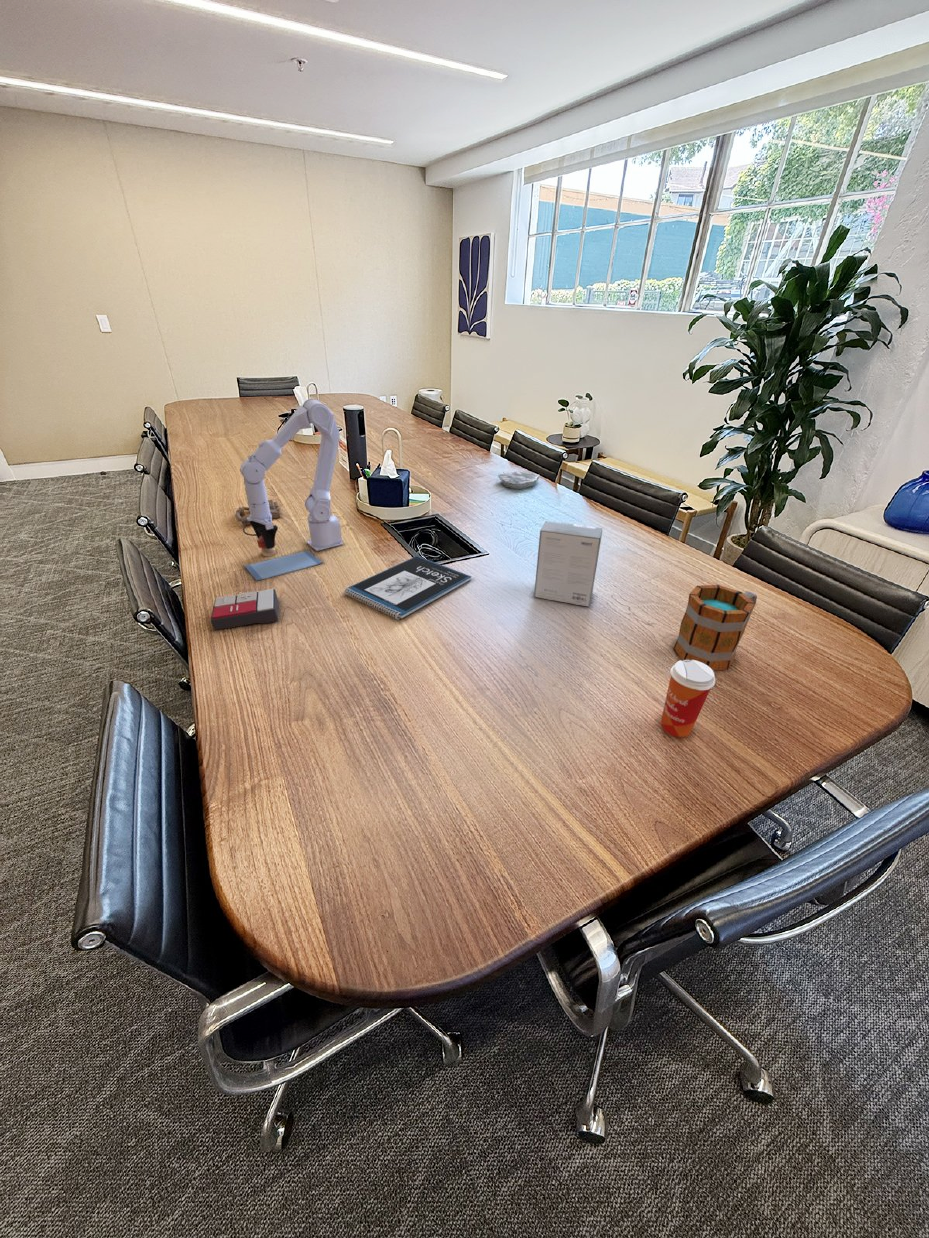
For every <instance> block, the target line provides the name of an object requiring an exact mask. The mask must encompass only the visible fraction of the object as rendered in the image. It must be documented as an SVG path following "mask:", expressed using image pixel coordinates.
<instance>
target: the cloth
mask: <svg viewBox="0 0 929 1238" xmlns="http://www.w3.org/2000/svg"><path fill="white" fill-rule="evenodd" d="M322 564H323V562H322V561H321V560H320V559H319V558H317V556H316V555H315V554H313V553H312V552H311V551H309V550H308V549H307V550H303V551H299V552H295V553H292V554H287V555H283V556H279V557H275V558H272V559H268V560H264V561H260V562H256V563H251V564H247V565H244V568H245V569H246V571H247V572H248V573H249V574H250V575H251V576H252V577H253V578H254V580H255V581H256V582H258V581H259V582H260V581H262V580H266V579H270V578H273V577H277V576H280V575H281V576H282V575H284V574H288V573H289V574H290V573H292V572H296V571H299V570H300V571H301V570H303V569H307V568H311V567H314V566H318V565H322Z"/></svg>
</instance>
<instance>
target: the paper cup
mask: <svg viewBox="0 0 929 1238" xmlns="http://www.w3.org/2000/svg"><path fill="white" fill-rule="evenodd" d="M669 673H670V678H669V681H668V682H669V683H668V687H667V690H666V691H667V692H666V697H665V700H664V706H663V709H662V710H663V711H662V714H661V720H660V726H661V729H662V730H663V731H664V732H665V733H667V734H668V735H670V736H672V737H676V738H686V737H688V736H689V735H690V734H691V732H692V731H693V729H694V727H695V725H696V722H697V720H698V718H699V716H700V713H701V712H702V709H703V706H704V705H705V703H706V700H707V698H708V695H709V693H710V692H711V689H712V688H713V687H714V686H715V684H716V678H715V671H714V670H712V669H711V668H710V667H709V666H707V665H706V664H704V663H702V662H699V661H696V660H691V661H690V660H683V661H682V659H680V660H678V661H676V662H675V663H674V665H672V666H671V668H670V670H669Z"/></svg>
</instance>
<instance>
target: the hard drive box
mask: <svg viewBox="0 0 929 1238" xmlns="http://www.w3.org/2000/svg"><path fill="white" fill-rule="evenodd" d="M603 530H604V528H603V527H597V526H590V525H581V524H575V523H566V522H565V523H564V522H559V521H558V522H557V521H550V520H549V521H548V520H545V521H544V523H543V524H542V526H541V528H540V530H539V539H538V548H537V549H538V551H537V560H536V561H537V562H536V572H535V582H534V593H533V597H534V598H537V599H538V598H539V599H543V600H544V599H545V600H548V601H555V602H560V603H566V604H571V605H577V606H584V607H590V606H591V602H592V598H593V593H594V586H595V580H596V575H597V574H596V573H597V567H598V561H599V556H600V555H599V554H600V549H601V543H602V536H603Z"/></svg>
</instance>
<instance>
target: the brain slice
mask: <svg viewBox="0 0 929 1238" xmlns="http://www.w3.org/2000/svg"><path fill="white" fill-rule="evenodd" d="M497 476H498V479H499V480H500V481H501V482H502V484H503V485H504V486H505V487H507V488H510V489H512V490H524V489H528V488H530V487H533V486H534V485H535V484H536V483H537V482H538V481H539V478H540V477H541V475H540V474H537V473H534V472H530V471H519V470H518V471H504V472H503V473H500V474H498V475H497Z"/></svg>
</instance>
